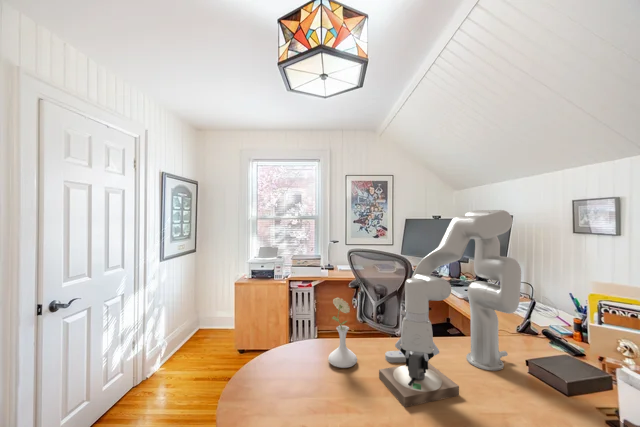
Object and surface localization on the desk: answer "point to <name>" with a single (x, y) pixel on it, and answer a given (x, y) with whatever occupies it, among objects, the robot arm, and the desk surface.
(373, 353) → the desk surface
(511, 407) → the desk surface
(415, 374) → the dark grey boxy piece
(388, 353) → the electronic device
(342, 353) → the flower in vase
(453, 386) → the board
